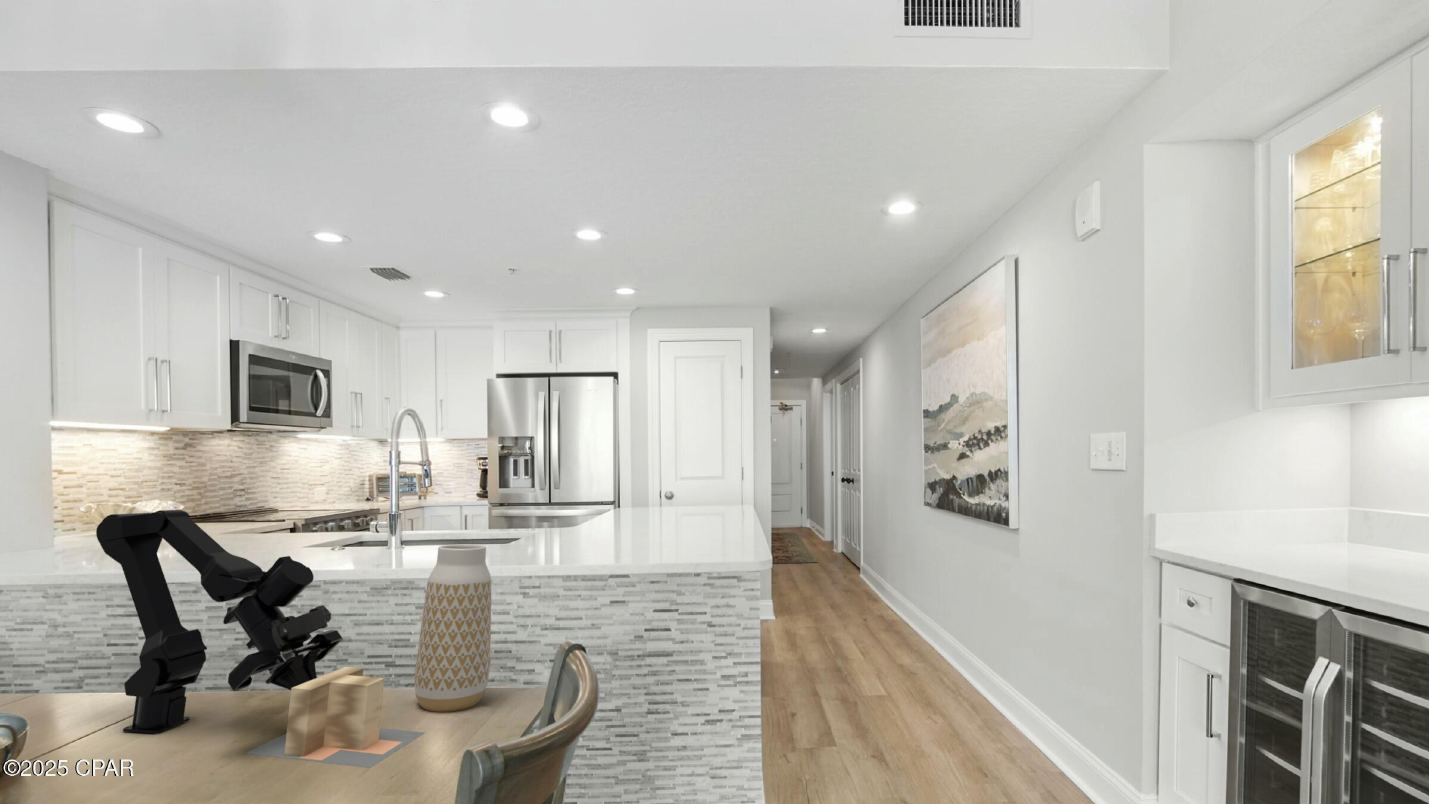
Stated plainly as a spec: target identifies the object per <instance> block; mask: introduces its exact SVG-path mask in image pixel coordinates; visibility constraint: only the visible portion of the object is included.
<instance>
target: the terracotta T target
mask: <svg viewBox="0 0 1429 804" xmlns="http://www.w3.org/2000/svg"><path fill="white" fill-rule="evenodd" d="M400 743H402V742H398V741H388V740H379V741H377V742H376V743H374V744H372V745H371V746H369V747H367V748H366V749H364V750H362V751H361V750H352V749H343V748H334V747H325V746H323V747H321V748H319V749H317V750H315V751H314V752H312V753H310V754H308V755H306V756H304V757H303V756H301V757H299V758H304V759H313V760H323V759H325V758H327V757H329V756H330V755H332V754H334V753H336V752H338V751H339V750H346V751H355V752H364V753H373V754H382V755H383V754H384V753H386V752H387V751H389V750H391V749H392V748H394V747H395V746H397V745H399V744H400Z"/></svg>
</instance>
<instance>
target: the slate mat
mask: <svg viewBox="0 0 1429 804" xmlns="http://www.w3.org/2000/svg"><path fill="white" fill-rule="evenodd" d="M286 734H287V732H286V733H284V734H283V735H280V736H279V737H276V738H274V739H272V740H270V741H268V742H265V743H263V744H261V745H259V746H257V747H255V748H252V749H250V750H248V751H247V752H246V751H245V752H244V754H245V755H252V756H253V755H255V756H260V757H261V756H262V757H270V758H271V757H272V758H281V759H290V760H298V761H306V762H314V763H324V764H325V763H326V764H331V765H332V764H333V765H342V766H351V767H359V768H366V769H367V768H369V769H371V768H372V767H374V766H376V765H377V764H379V763H380V762H382V761H384V760H385V759H386V758H388V757H390V756H392V755H393V754H394V753H396V752H398V751H399V750H400V749H403V748H404V747H406V746H407V745H409V744H410V743H412V742H413V741H415V740H416V739H418V738H419V737H421V736H423V735H425V734H426V732H423V731H414V730H413V731H412V730H402V729H396V728H395V729H394V728H384V727H380V731H379V740H388V741H398V742H402V743H400V744H399V745H397V746H395V747H394V748H392V749H391V750H389V751H387V752H386V753H384V754H383V755H382V754H373V753H364V752H355V751H346V750H339V751H338V752H336V753H334V754H332V755H330V756H329V757H327V758H325V759H323V760H313V759H304V758H299V757H301V756H294V755H285V754H284V753H285V744H286Z"/></svg>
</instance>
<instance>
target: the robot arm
mask: <svg viewBox="0 0 1429 804" xmlns="http://www.w3.org/2000/svg"><path fill="white" fill-rule="evenodd" d="M95 535H96V538H97V541H98V543H99V545H100V547H101V548H102V550H103V552H104V554H105V555H106V556H109V557H110V558H111V559H112V560H114V561H115V562H116V563H118V564H120V566H121V568H122V571H123V574H124V577H125V581H126V583H127V586H128V590H129V593H130V595H131V598H132V599H131V600H132V601H133V604H134V608H135V611H136V614H137V617H138V620H139V623H140V626H141V629H142V632H143V634H144V639H145V640H144V643H143V644H142V645H143V646H142V649H141V651H140V654H139V665H140V666H139V668H138V669H137V670H136V671H135V672H134V673H133V674H132V675H131V676H130V677H129V678H128V679H126V681H125V682H124V684H123V685H124V692H125V695H126V696H127V697H135V701H134V710H133V718H132V724H130V725H128V726H124V727H123V728H122V731H123V732H129V733H142V734H159V733H162V732H164V731H166V730H169V729H171V728H174V727H176V726H178V725H180V724H183V723H185V722H188V721H189V720H190V718H191V717H190V716H185V712H186V705H187V704H186V702H187V696H186V689H187V685H191V684H194V683H196V682H197V680H198V678H199V675H200V672H201V671H202V669H203V666H204V663H206V660H207V655H206V654H207V653H206V650H207V649H208V647H207V646H206V645H205V643H204V641H203V636H202V632H201V631H200V630H199V628H194V629H192V630H188V629H187V628H186V627H184V626H183V625H182V623H181V621H180V617H179V614H178V612H177V609H176V606H175V604H174V601H173V597H172V595H171V591H170V589H169V585H168V583H167V580H166V578H165V574H164V571H163V568H162V565H161V562H160V559H159V556H158V551H159V549H160V546H161V544H162V541H163V540H164V541H165V542H166V543H167V544H169V546H170V547H172V548H173V549H174V550H175V551H176V552H177V553H178V554H179V555H180V556H181V557H183V559H184V560H186V561H187V562H188V563H189V564H190V565H191V566H192V567H193V568H195V569H196V570H197V572H198V573H199V574H200V584H201V587H202V588H203V589H204V590H205V592H206V593H207V594H208V596H209V597H210V599H212V600H213V601H214V602H216V603H224V602H230V601H234V600H240V599H241V600H240V601H239V602H238V603H237V604H236V605H233V606H229V607H227V609H226V614H225V616H224V617H223V622H222V623H223V624H224V625H228V624H231V623H233V624H234V623H236V622H238V624H239V625H240V626H241V628H242V629H243V631H244V632H245V633H246V635H247V637H248V638H249V639H250V640H249V641H247V642H246V643H245V645H246V647H247V648H248V650H250V649H255V648H256V650H257V652H253V653H251V654H247V655H246V656H245V657H244V658H243V659H242V660H241V661H240V662H239V663H238V664H237V665H236V666H235V667H234V668H233V669H232V670H231V671H230V672H229V673H228V677H227V678H228V680H227V683H228V685H229V687H230V688H231V689H232V690H233V692H237V691H240V690H242V689H245V688H248V687H249V686H251V684H252V680H253V678H252V676H254V675H257V674H260V673H262V672H265V671H268V674H269V675H270V676H269V677H268V678H267V679H266V680H265V684H266V685H269V684H272V685H275V686H277V687H280V688H283V689H287V690H289V691H291V688H293V687H295V686H298V685H300V684H303V683H305V682H308V681H311V680H313V679H316V678H318V675H317V670H316V663H318V662H320V661H322V660H323V659H325V658H326V657H327V656H328V654H330V653H331V652H332V651H333V650H334V649H335V648H336V647H337V646H338V645H339V644H340V643H341V642H342V641H343V636H342V635H341V634H340V632H339V631H338V630H335V629H329V630H326V631H322V632H320V633H316V634H315V635H314V636H313V637H312V635H311V634H312V633H314V632H316V631H318V630H321V629H326V628H328V627H329V625H328V622H331V620H332V613H331V612H330V610H329V609H328V608H327V607H326V606H325V605H323V604H322V605H317V606H316V607H315V608H311V609H309V610H308V612H307V613H303V614H300V615H298V616H294V615H290V616H289V615H288V616H285V614H284V613H283V612H282V610H281V609H280V608H281V607H282V608H283V607H287V606H289V605H290V604H291V603H292V602H294V600H296V598H298V596H299V595H301V593H302V592H303V591H304V590H305V589H306V588H307V587H309V585H311V584H312V582H313V581H314V573H313V570H312V569H311V568H310V567H308V566H306V565H304V564H303V563H302V562H300V561H297V560H293V559H292V557H291V556H290V555H286V556H279V557H278V558H277V559H276V560H275V562H274V563H273V565H272V566H271V567H270V568H269V569H268V570H267V571H265V570H264V571H263V569H262V568H261V567H260V566H259V565H258V564H256V563H254V562H252V561H250V560H248V558H244V557H241V556H238V555H235V554H232V553H230V552H229V551H227V550H226V549H225V548H223V546H221V545H220V544H219V543H218V542H217V541H216V540H215V539H213V538H212V537H211V535H209V534H208V533H207V532H206V531H205V530H204V529H202V527H200V526H199V525H198V524H197V523H196V522H195V521H193V520H192V519H191V517H190V514H189V513H188V512H187V511H185V510H183V509H164V510H163V509H162V510H161V509H160V510H156V511H154V512H138V513H137V512H136V513H134V512H133V513H117V514H116V513H115V514H114V513H113V514H109V515H106V516H105V517H103V519H102V520H101V522H100V523H99V524H97V527H96V530H95ZM311 637H312V638H311ZM310 638H311V639H310ZM309 639H310V640H309ZM308 640H309V641H308ZM306 641H307V643H306V644H304V643H305V642H306Z"/></svg>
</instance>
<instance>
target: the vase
mask: <svg viewBox="0 0 1429 804" xmlns="http://www.w3.org/2000/svg"><path fill="white" fill-rule="evenodd" d="M486 555H487V547H486V545H482V544H470V543H469V544H468V543H465V544H464V543H463V544H461V543H460V544H446V545H445V544H444V545H440V546H439V547H438V548H437V557H436V564H435V565H434V568H433V569H432V571H431V572H430V574H429V576H428V579H427V583H426V590H425V596H424V597H425V598H424V603H423V610H422V616H421V617H422V618H421V622H420V623H421V625H420V630H419V631H420V632H419V639H418V645H417V653H416V662H415V671H414V694H415V698H416V700H417V702H418V704H419V705H420V707H421V708H422V709H423V710H425V711H430V712H437V713H446V712H448V713H450V712H456V711H463V710H466V709H469V708H471V707H475V706H476V705H478V703H479V702H480V701H481V699H482V698H483V697H484V694H485V692H486V690H487V686H488V683H489V677H490V676H489V675H490V669H491V666H490V665H491V633H492V632H491V631H492V628H491V627H492V622H491V621H492V577H491V572H490V571H489V569H488V566H487V563H486V559H487V558H486V557H487V556H486ZM475 704H476V705H475ZM474 705H475V706H474Z"/></svg>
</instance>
